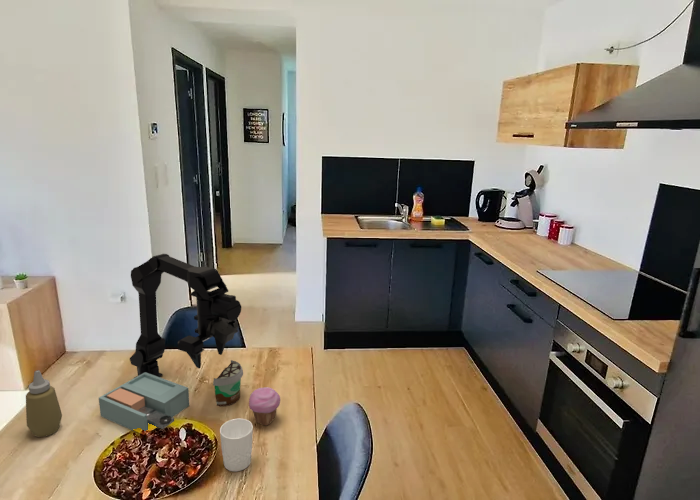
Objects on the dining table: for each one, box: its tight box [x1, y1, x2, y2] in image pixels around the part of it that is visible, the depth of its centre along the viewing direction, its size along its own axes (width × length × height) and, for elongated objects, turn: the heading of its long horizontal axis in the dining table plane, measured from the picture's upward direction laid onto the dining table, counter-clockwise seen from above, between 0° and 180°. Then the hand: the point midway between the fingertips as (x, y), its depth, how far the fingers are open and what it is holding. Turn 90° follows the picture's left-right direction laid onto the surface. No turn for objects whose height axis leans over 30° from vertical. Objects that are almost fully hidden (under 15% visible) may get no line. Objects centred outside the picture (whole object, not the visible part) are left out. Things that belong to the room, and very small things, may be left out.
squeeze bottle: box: [25, 369, 63, 438], centre depth 121 cm, size 8×8×18 cm
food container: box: [212, 359, 244, 407], centre depth 139 cm, size 12×6×10 cm, turn 168°
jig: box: [98, 372, 190, 431], centre depth 132 cm, size 18×16×6 cm
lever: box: [137, 406, 175, 430], centre depth 127 cm, size 19×4×2 cm, turn 64°
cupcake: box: [248, 386, 281, 427], centre depth 130 cm, size 9×9×10 cm
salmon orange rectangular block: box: [107, 388, 145, 410], centre depth 130 cm, size 10×4×3 cm, turn 64°
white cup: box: [219, 418, 254, 472], centre depth 113 cm, size 8×8×10 cm
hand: (209, 361), depth 134 cm, fingers open, 9 cm apart
